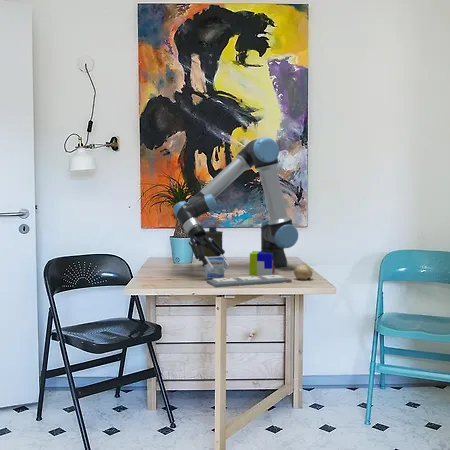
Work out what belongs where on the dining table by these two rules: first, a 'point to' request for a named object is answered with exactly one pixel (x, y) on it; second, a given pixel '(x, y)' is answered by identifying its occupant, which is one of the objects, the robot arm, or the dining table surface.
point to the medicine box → (215, 267)
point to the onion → (303, 272)
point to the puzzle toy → (261, 263)
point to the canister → (218, 239)
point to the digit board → (248, 280)
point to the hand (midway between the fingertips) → (219, 268)
